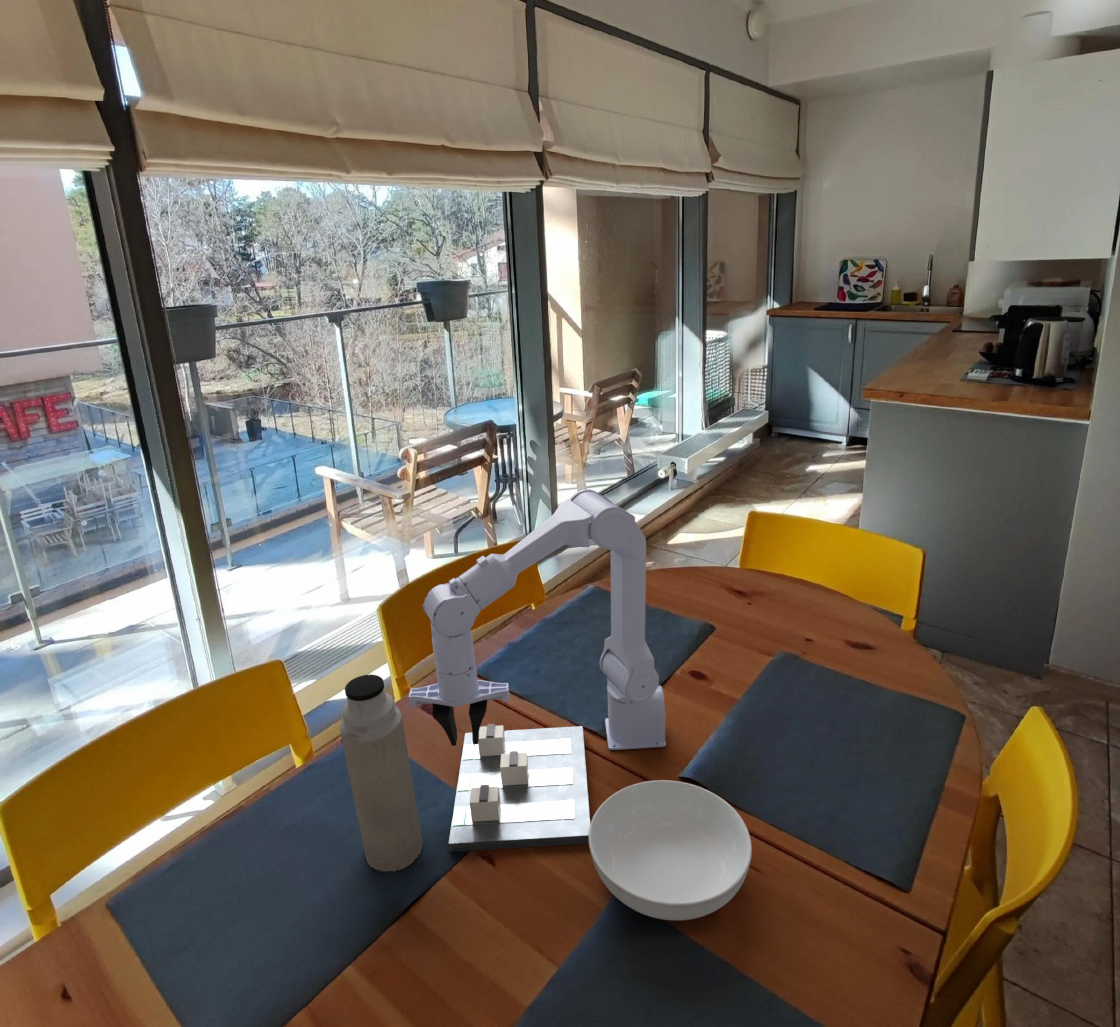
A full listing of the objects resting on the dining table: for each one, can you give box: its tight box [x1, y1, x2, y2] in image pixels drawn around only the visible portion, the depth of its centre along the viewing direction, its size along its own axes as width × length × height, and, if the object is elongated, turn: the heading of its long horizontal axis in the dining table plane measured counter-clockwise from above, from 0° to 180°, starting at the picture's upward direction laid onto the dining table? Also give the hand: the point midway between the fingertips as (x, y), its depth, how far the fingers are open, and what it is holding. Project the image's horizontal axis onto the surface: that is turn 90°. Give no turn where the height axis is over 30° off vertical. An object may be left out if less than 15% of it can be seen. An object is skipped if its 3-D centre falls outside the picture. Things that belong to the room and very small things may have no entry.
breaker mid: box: [500, 751, 529, 786], centre depth 114 cm, size 4×3×4 cm
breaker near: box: [470, 785, 501, 822], centre depth 108 cm, size 4×3×4 cm
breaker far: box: [478, 723, 505, 756], centre depth 121 cm, size 4×3×4 cm
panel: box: [448, 725, 591, 852], centre depth 115 cm, size 20×24×2 cm
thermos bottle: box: [339, 674, 423, 872], centre depth 100 cm, size 8×8×28 cm
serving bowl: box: [588, 779, 753, 921], centre depth 98 cm, size 21×21×7 cm
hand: (465, 740), depth 112 cm, fingers open, 3 cm apart
